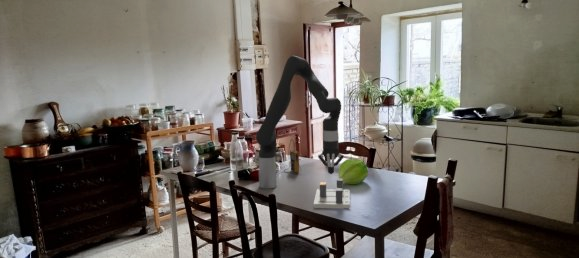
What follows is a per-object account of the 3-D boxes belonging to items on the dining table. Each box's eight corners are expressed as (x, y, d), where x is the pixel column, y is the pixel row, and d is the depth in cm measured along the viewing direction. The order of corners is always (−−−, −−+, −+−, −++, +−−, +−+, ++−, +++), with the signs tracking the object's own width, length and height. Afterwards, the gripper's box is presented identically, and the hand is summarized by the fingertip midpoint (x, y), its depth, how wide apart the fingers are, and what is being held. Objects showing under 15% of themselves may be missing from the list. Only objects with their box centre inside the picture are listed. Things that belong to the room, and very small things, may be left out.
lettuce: (355, 195, 214) (332, 193, 224) (376, 176, 229) (354, 175, 240) (348, 170, 210) (325, 169, 221) (370, 153, 225) (348, 153, 236)
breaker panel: (313, 207, 191) (313, 203, 191) (317, 192, 213) (316, 189, 213) (349, 208, 189) (349, 204, 189) (349, 193, 210) (349, 189, 210)
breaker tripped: (319, 196, 200) (319, 184, 198) (320, 194, 203) (320, 182, 202) (326, 197, 199) (325, 184, 198) (326, 194, 203) (326, 182, 202)
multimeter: (277, 170, 258) (276, 140, 255) (291, 168, 262) (291, 138, 259) (287, 176, 245) (286, 144, 242) (302, 173, 249) (301, 142, 246)
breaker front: (335, 202, 191) (335, 190, 190) (336, 200, 194) (335, 188, 193) (342, 203, 190) (342, 190, 189) (342, 200, 194) (342, 188, 193)
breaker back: (336, 192, 206) (336, 180, 205) (337, 189, 210) (336, 178, 209) (342, 192, 206) (342, 180, 205) (342, 189, 210) (342, 178, 209)
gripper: (344, 137, 198) (344, 171, 201) (317, 137, 200) (318, 171, 203) (344, 140, 191) (344, 176, 194) (316, 140, 193) (316, 175, 196)
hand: (330, 173), depth 199 cm, fingers closed
